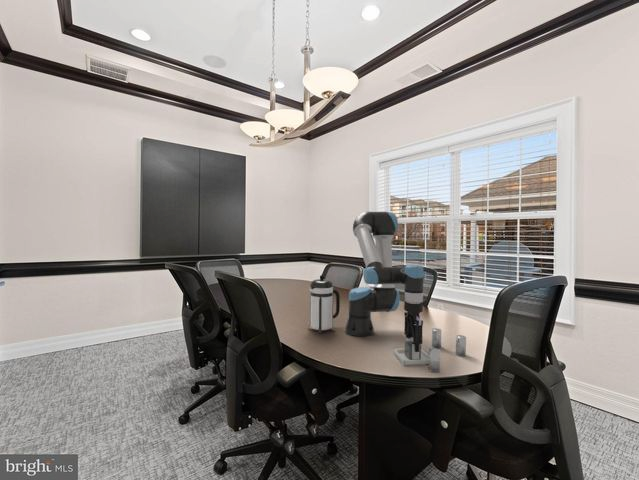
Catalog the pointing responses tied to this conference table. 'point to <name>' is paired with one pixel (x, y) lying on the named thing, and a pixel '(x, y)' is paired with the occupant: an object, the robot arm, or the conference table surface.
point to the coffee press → (322, 304)
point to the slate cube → (409, 350)
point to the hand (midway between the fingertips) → (412, 355)
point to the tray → (405, 361)
